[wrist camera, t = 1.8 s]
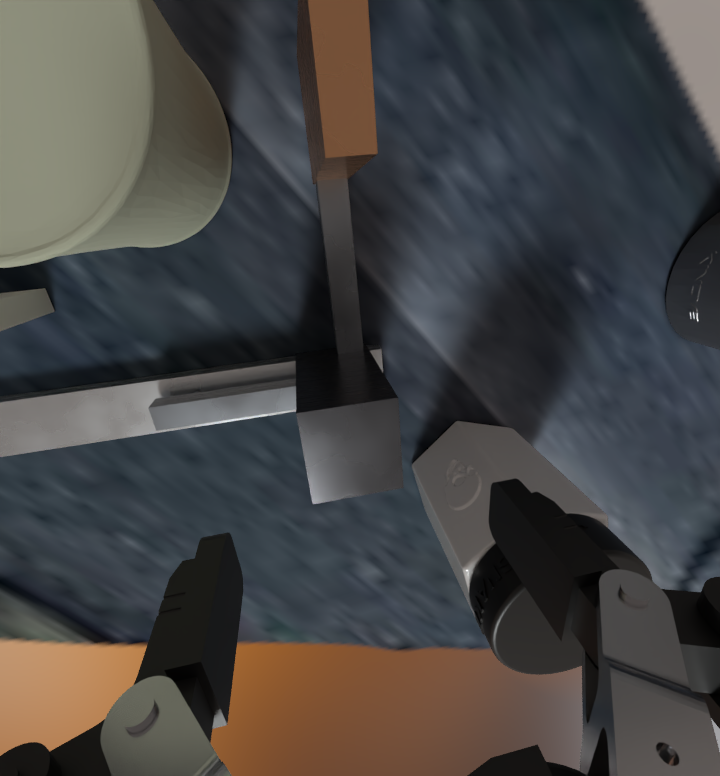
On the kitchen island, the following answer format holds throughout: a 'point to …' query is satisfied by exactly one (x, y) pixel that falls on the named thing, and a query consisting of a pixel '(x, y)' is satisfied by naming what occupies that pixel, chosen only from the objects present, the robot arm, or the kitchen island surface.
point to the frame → (23, 307)
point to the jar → (481, 553)
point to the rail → (121, 404)
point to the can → (102, 131)
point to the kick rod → (350, 357)
